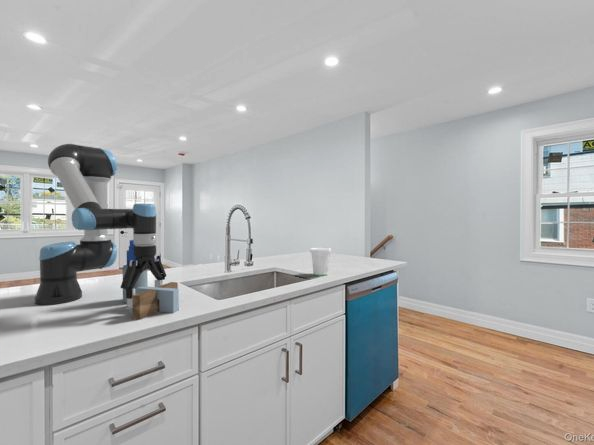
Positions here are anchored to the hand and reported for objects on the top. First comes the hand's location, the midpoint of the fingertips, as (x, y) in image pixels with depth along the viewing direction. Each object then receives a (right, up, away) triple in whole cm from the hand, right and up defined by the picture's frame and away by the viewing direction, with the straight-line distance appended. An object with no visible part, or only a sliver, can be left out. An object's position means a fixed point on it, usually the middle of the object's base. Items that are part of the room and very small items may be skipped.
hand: (145, 301), depth 109 cm
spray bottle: (-10, -3, +11) cm, 15 cm away
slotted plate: (+5, -3, -1) cm, 6 cm away
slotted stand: (+5, -3, -1) cm, 6 cm away
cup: (+71, -1, +63) cm, 95 cm away
